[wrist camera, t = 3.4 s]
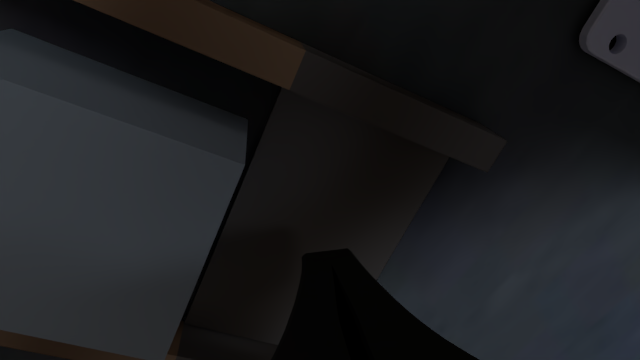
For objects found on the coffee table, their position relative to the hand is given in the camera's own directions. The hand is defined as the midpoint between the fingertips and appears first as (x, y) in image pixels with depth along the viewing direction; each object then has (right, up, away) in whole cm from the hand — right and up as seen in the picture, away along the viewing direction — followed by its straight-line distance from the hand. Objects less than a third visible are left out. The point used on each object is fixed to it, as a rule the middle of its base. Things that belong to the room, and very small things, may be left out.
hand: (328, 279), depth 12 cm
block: (-6, +3, 0) cm, 7 cm away
